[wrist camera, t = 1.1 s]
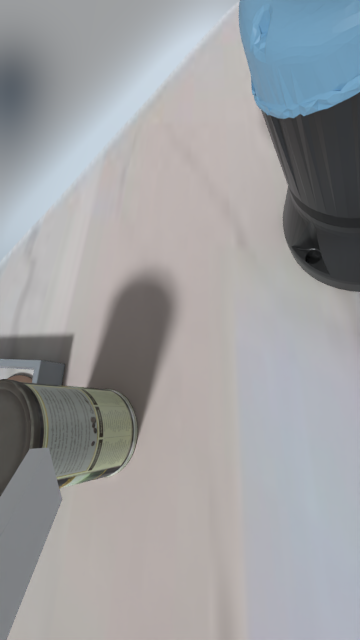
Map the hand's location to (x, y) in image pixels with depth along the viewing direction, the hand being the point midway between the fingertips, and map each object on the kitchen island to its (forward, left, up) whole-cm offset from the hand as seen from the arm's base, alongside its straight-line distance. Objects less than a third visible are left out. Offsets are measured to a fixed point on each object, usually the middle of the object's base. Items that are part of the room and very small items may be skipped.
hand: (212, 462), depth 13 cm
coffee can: (+3, -22, -19) cm, 29 cm away
